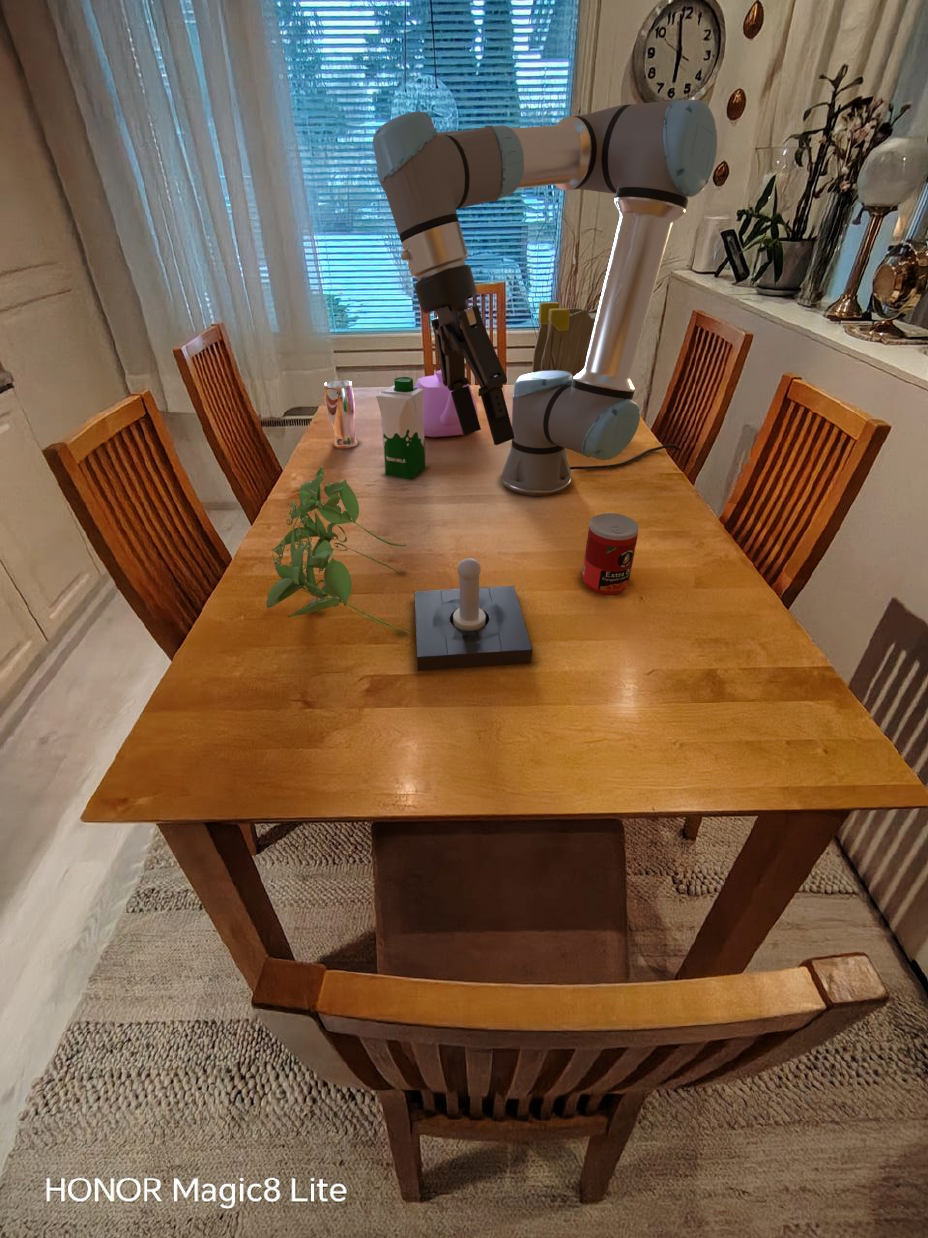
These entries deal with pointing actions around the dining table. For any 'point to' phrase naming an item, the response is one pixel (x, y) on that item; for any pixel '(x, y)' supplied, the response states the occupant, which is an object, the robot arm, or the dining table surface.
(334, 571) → the plant cuttings
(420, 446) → the milk carton
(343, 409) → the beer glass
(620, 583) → the canned food
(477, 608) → the white peg with base
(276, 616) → the dining table surface
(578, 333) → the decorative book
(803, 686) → the dining table surface
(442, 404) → the teapot
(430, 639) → the plate
